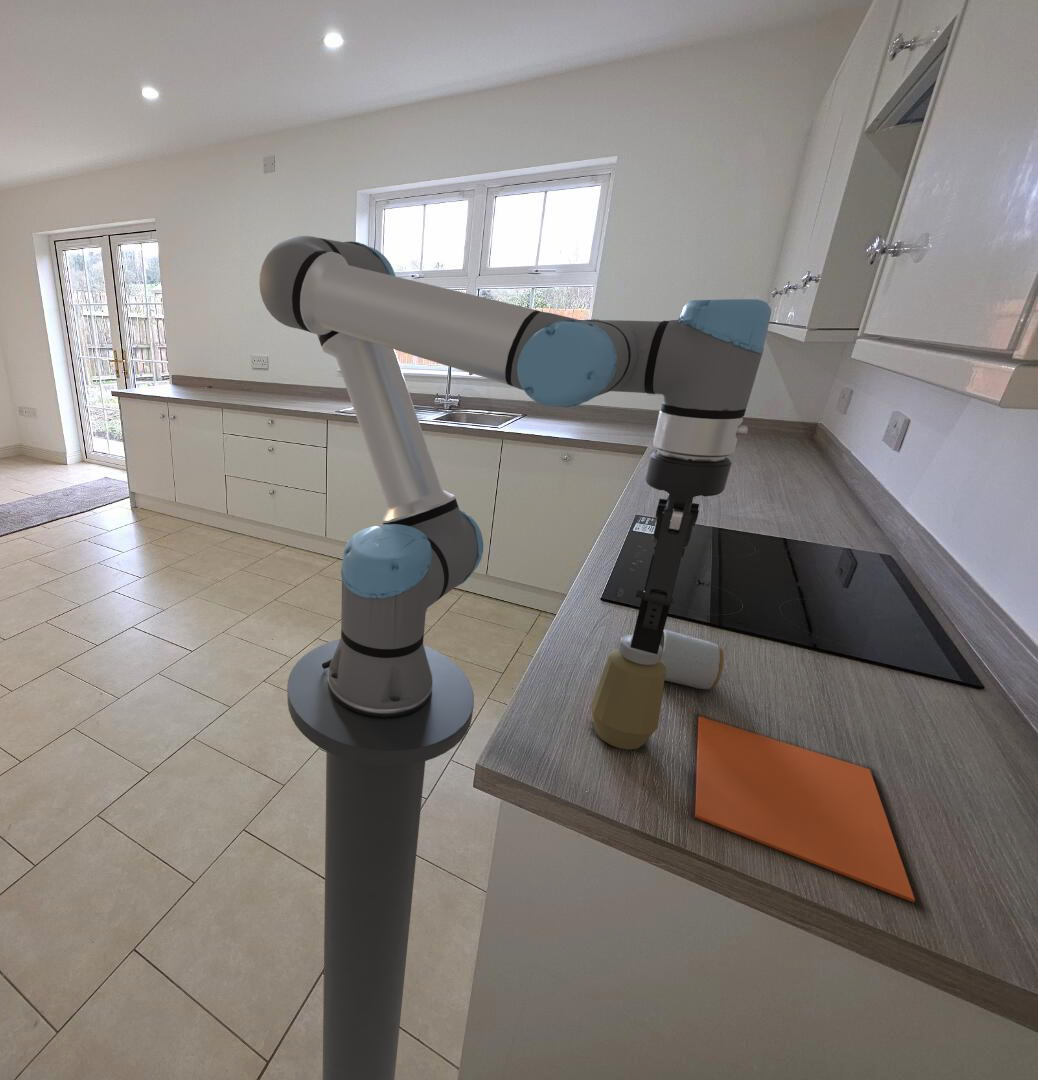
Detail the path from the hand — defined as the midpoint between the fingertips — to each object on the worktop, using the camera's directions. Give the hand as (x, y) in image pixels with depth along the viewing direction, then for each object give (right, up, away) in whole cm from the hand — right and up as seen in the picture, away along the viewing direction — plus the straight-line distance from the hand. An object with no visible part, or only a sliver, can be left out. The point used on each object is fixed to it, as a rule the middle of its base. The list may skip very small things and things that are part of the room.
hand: (649, 623), depth 69 cm
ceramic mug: (+16, -11, +19) cm, 27 cm away
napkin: (+15, -20, -2) cm, 25 cm away
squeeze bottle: (0, -16, +7) cm, 18 cm away
